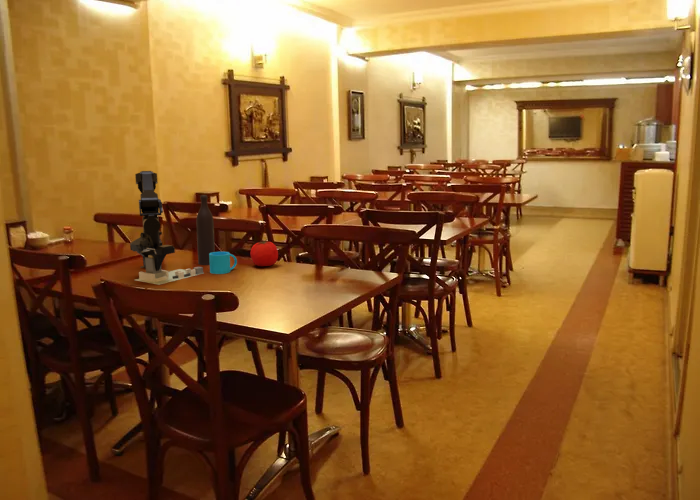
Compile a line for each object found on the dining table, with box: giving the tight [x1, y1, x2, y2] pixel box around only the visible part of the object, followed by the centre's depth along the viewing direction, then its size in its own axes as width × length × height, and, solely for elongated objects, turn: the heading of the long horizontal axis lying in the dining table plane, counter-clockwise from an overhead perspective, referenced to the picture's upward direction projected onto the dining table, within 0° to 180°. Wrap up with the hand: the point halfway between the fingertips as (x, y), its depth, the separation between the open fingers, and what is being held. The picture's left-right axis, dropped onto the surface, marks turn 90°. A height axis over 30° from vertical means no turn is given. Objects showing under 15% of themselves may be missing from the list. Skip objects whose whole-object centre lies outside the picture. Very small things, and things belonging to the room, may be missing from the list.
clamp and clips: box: [175, 266, 204, 280], centre depth 233 cm, size 4×12×2 cm, turn 148°
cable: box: [173, 273, 190, 279], centre depth 232 cm, size 2×10×1 cm, turn 148°
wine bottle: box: [195, 194, 216, 266], centre depth 254 cm, size 7×7×30 cm
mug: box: [209, 251, 238, 275], centre depth 241 cm, size 12×8×8 cm
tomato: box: [249, 240, 279, 267], centre depth 253 cm, size 12×12×11 cm
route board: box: [134, 268, 204, 286], centre depth 232 cm, size 14×23×1 cm, turn 148°
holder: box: [138, 269, 169, 282], centre depth 227 cm, size 9×7×3 cm
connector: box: [145, 255, 162, 274], centre depth 226 cm, size 4×4×7 cm
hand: (153, 270), depth 227 cm, fingers closed on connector, 4 cm apart
